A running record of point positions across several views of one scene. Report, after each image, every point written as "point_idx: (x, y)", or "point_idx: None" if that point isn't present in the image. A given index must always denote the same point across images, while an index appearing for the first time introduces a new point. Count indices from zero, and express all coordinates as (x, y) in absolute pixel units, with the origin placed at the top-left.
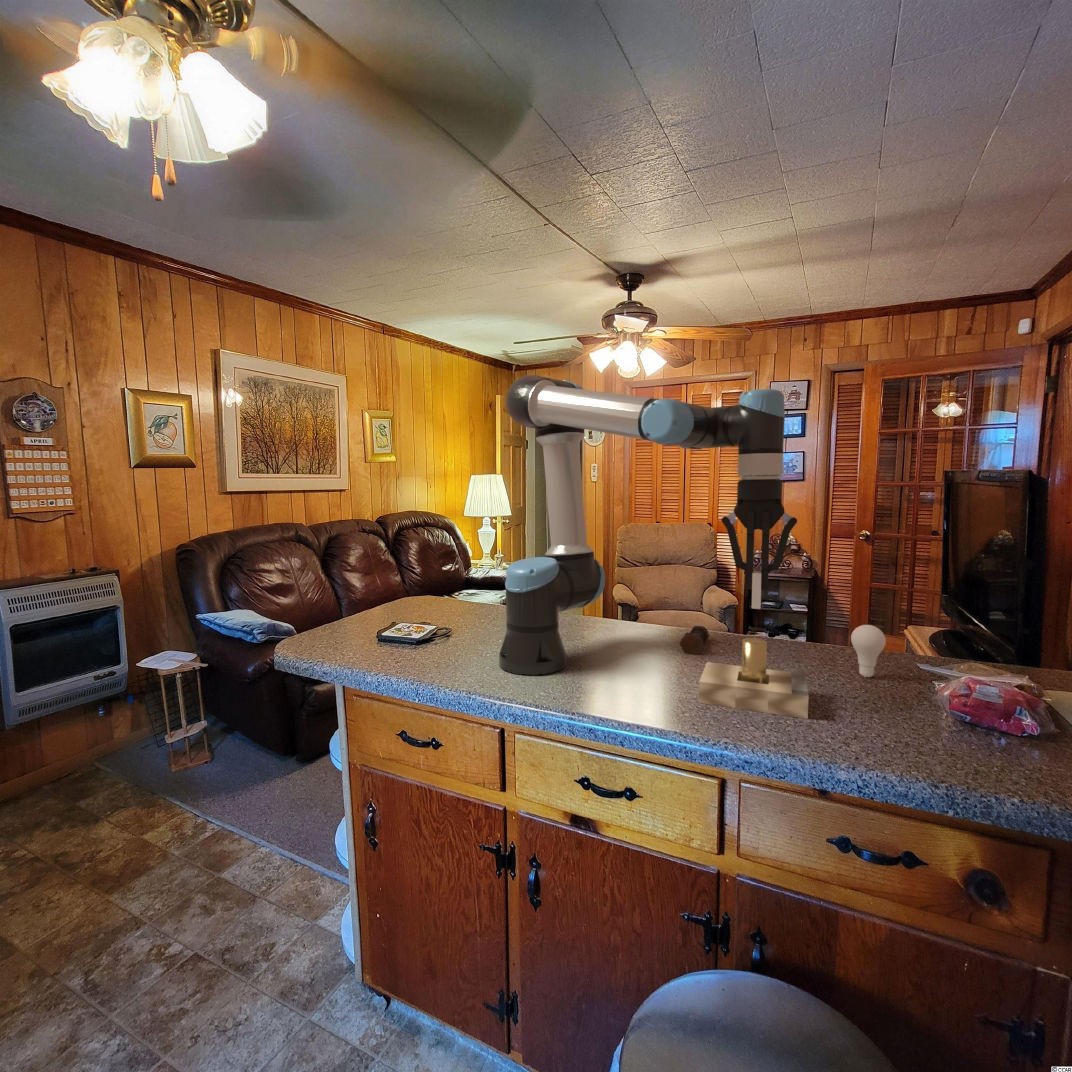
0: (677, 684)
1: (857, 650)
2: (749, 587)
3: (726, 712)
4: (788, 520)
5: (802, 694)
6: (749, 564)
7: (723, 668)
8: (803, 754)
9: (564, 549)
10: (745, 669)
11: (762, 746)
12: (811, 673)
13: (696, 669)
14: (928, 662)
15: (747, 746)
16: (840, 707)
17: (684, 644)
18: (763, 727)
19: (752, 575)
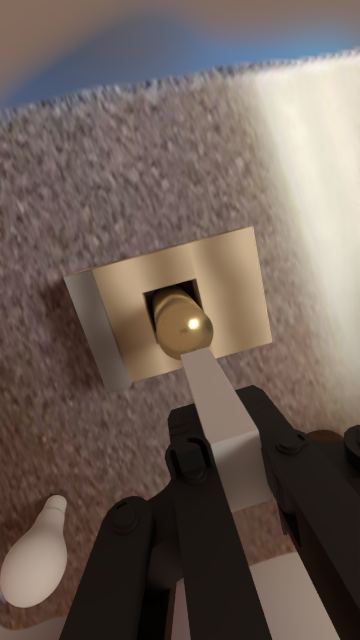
0: (293, 286)
1: (55, 530)
2: (244, 394)
3: (188, 216)
4: None
5: (73, 274)
6: (307, 469)
7: (236, 327)
8: (32, 119)
9: None
10: (187, 296)
11: (94, 108)
12: (130, 465)
13: (287, 371)
14: (5, 608)
15: (114, 91)
16: (50, 352)
17: (336, 439)
18: (119, 191)
19: (252, 421)
